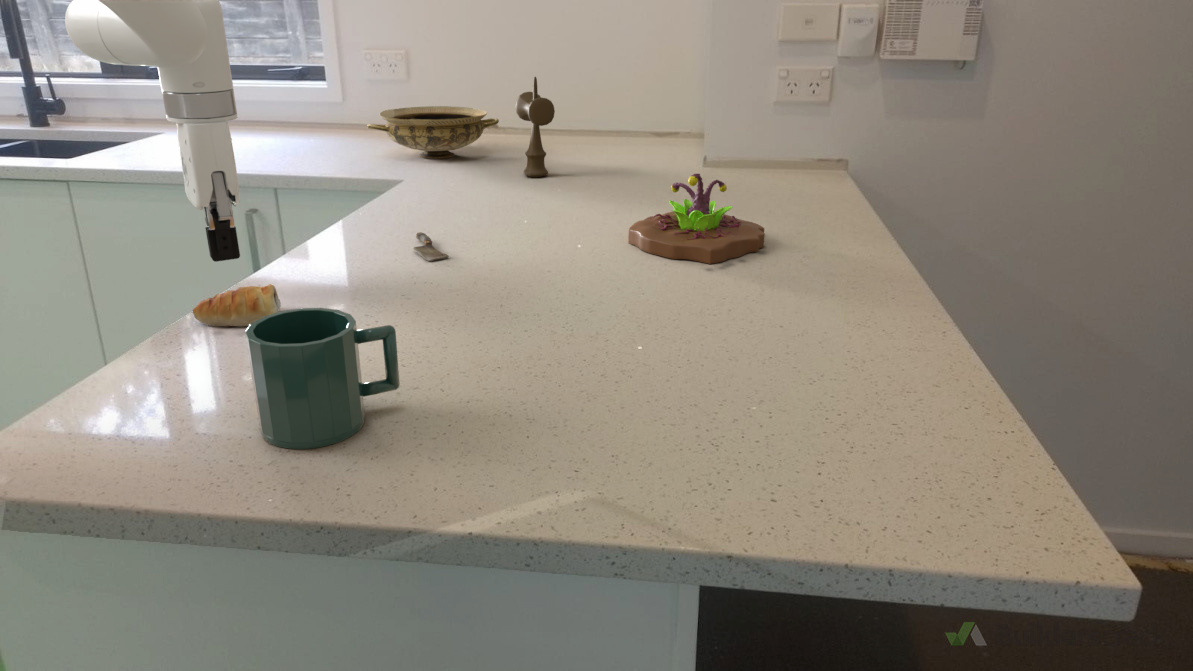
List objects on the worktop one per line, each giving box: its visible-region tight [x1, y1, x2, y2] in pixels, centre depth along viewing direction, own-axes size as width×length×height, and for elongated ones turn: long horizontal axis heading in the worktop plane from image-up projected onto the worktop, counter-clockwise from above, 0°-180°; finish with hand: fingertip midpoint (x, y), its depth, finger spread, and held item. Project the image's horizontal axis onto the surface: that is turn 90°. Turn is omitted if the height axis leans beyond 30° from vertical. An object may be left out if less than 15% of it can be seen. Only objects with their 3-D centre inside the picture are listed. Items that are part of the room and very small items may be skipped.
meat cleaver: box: [412, 231, 449, 262], centre depth 125 cm, size 12×1×5 cm
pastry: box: [192, 283, 282, 328], centre depth 97 cm, size 9×7×4 cm
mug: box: [244, 307, 401, 450], centre depth 74 cm, size 12×9×10 cm
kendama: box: [515, 76, 556, 178], centre depth 172 cm, size 6×10×20 cm, turn 21°
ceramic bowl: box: [366, 105, 499, 159], centre depth 192 cm, size 30×24×10 cm
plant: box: [627, 173, 766, 265], centre depth 129 cm, size 20×20×11 cm
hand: (225, 258), depth 104 cm, fingers closed
